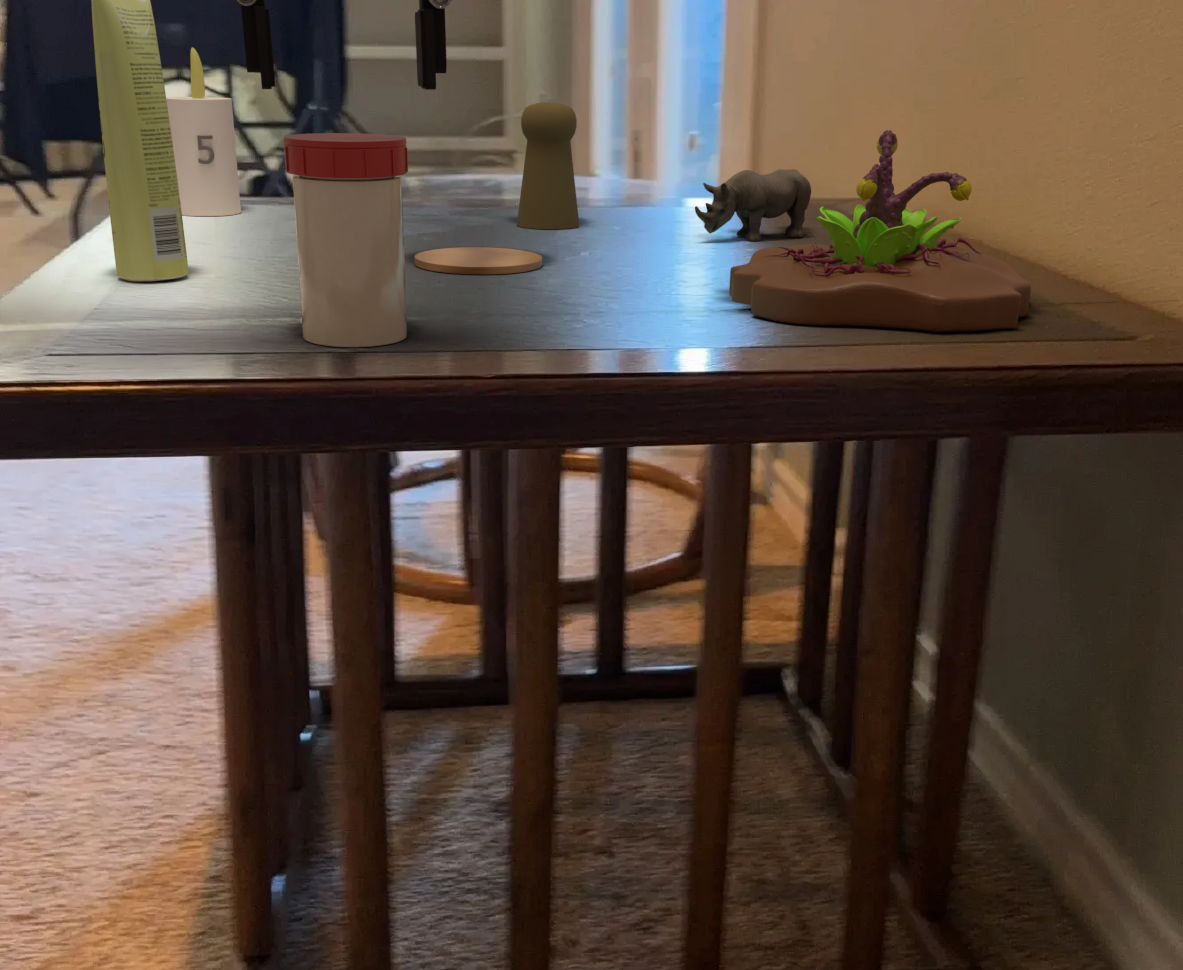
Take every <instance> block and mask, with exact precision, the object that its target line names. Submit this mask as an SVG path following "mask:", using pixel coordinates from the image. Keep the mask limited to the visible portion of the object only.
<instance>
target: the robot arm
mask: <svg viewBox="0 0 1183 970" xmlns="http://www.w3.org/2000/svg"><path fill="white" fill-rule="evenodd" d="M235 1H236V2H237V3H238V4H239V5H240V8H241V21H242V32H243V42H244V54H245V63H246V64H245V65H246V72H247V73H257V74H258V73H259V74H260V82H261V83H260V84H261V90H272V89H273V88H275V87H276V75H275V74H276V73H275V64H274V52H273V50H274V49H273V40H272V39H273V38H272V29H271V28H272V27H271V15H270V9H269V8H266V0H235ZM452 1H453V0H418V3H419V4H418V7H419V8H418V9H417V11H415V12H414V29H415V31H414V32H415V33H414V34H415V52H416V53H415V54H416V55H415V56H416V78H417V86H418V87H421V89H422V90H437V74H447V68H448V67H447V66H448V65H447V63H448V62H447V61H448V60H447V34H446V33H447V32H446V8H448V6H449V5H450V3H451V2H452Z"/></svg>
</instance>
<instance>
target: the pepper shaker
mask: <svg viewBox="0 0 1183 970" xmlns="http://www.w3.org/2000/svg"><path fill="white" fill-rule="evenodd" d="M521 113H522V114H521V118H520V127H521V132H522V134H523V136H524V138H525V139H526V147H525V155H524V162H523V164H524V165H523V171H522V180H521V187H520V188H521V189H520V195H519V203H518V211H517V220H516V226H517V227H521V228H525V229H526V228H527V229H535V230H567V229H568V230H569V229H576V228H579V227H580V218H579V210H578V200H577V191H576V182H575V172H574V163H573V162H574V161H573V153H572V144H571V140H572V139H573V137H574V136H575V134H576V131H577V125H578V123H577V122H578V121H577V120H578V119H577V116H576V113H575V111H574V109H573V108H572V107H571V106H570V105H567V104H564V103H560V102H547V101H545V102H543V101H541V102H536V103H531V104H529V105H528V106H526V107H524V110H523V112H521Z"/></svg>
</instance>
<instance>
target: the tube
mask: <svg viewBox="0 0 1183 970" xmlns="http://www.w3.org/2000/svg"><path fill="white" fill-rule="evenodd" d="M91 19H92V33H93V45H94V46H93V47H94V48H93V49H94V60H95V61H94V62H95V72H96V85H97V96H98V98H97V99H98V109H99V119H100V120H99V121H100V132H101V140H102V141H101V142H102V152H103V161H104V170H105V182H106V190H107V202H108V209H109V218H110V220H109V221H110V227H111V228H110V229H111V234H112V235H111V236H112V244H113V245H112V246H113V253H114V254H113V255H114V262H115V263H114V264H115V270H116V275H117V277H119V278H120V279H123V280H125V281H128V282H158V281H166V280H167V281H168V280H175V279H180V278H184V277H186V276H187V275H189V273H190V272H189V263H188V253H187V246H186V237H185V229H184V228H185V227H184V222H183V215H182V211H181V204H180V196H179V188H178V180H177V172H176V165H175V158H174V150H173V143H172V136H171V129H170V122H169V114H168V107H167V100H166V97H167V94H166V93H167V92H166V88H165V86H166V85H165V81H164V75H163V68H162V67H163V66H162V61H161V55H160V49H159V48H160V47H159V43H158V36H157V29H156V23H155V18H154V13H153V8H152V3H151V0H91Z"/></svg>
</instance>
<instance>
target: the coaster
mask: <svg viewBox="0 0 1183 970" xmlns="http://www.w3.org/2000/svg"><path fill="white" fill-rule="evenodd" d="M414 265H415V266H416V267H417V268H420V269H422V270H426V271H430V272H436V273H444V274H454V275H455V274H456V275H476V276H477V275H478V276H479V275H480V276H482V275H487V276H489V275H490V276H491V275H508V274H509V275H511V274H518V273H525V272H531V271H535V270H538V269H540V268H541V267H543V257H542V255H540V254H539V253H536V252H533V251H529V250H523V249H515V248H504V247H489V246H488V247H487V246H485V247H484V246H483V247H481V246H467V247H466V246H464V247H463V246H462V247H445V248H435V249H428V250H424V251H421V252H418V253H416V254H414Z"/></svg>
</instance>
